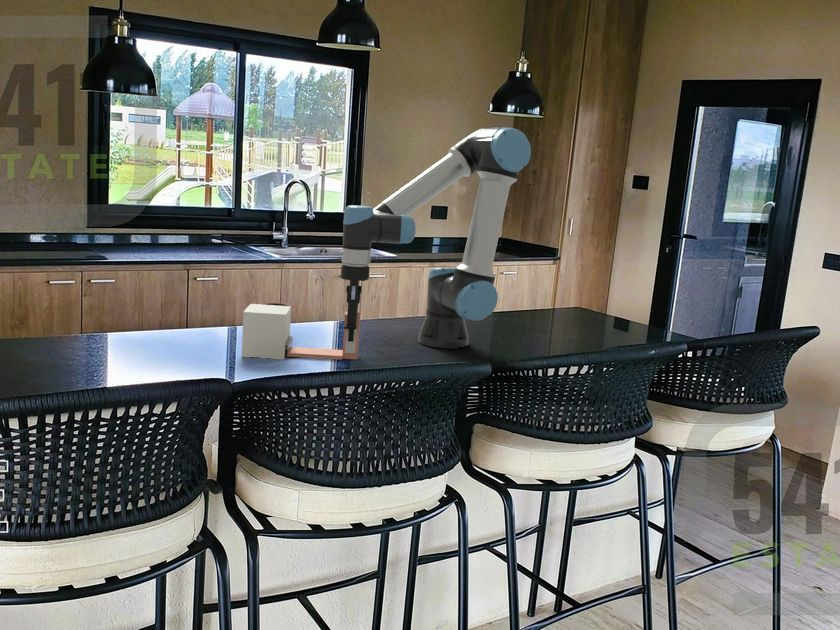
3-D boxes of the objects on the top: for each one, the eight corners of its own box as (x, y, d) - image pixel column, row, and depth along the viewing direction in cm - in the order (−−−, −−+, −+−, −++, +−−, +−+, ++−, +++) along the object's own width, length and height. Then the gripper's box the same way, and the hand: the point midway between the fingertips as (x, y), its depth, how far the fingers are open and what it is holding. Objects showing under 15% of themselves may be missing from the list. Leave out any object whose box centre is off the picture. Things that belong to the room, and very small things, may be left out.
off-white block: (292, 349, 233) (294, 306, 230) (287, 359, 221) (289, 314, 219) (248, 346, 232) (250, 303, 230) (241, 357, 220) (243, 311, 218)
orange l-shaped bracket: (357, 354, 231) (360, 311, 229) (357, 360, 224) (359, 316, 222) (289, 350, 230) (291, 307, 228) (287, 356, 223) (289, 311, 221)
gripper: (342, 259, 231) (338, 342, 235) (339, 267, 214) (334, 357, 219) (370, 261, 231) (365, 344, 236) (369, 269, 215) (363, 359, 219)
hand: (350, 350), depth 227 cm, fingers closed on orange l-shaped bracket, 4 cm apart
